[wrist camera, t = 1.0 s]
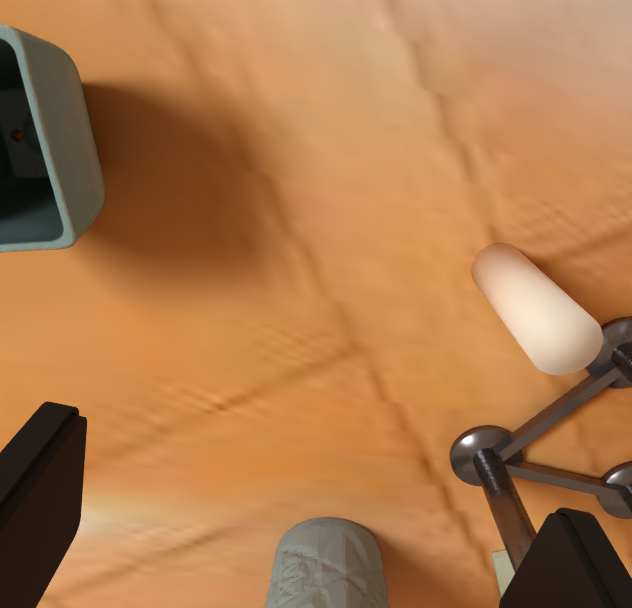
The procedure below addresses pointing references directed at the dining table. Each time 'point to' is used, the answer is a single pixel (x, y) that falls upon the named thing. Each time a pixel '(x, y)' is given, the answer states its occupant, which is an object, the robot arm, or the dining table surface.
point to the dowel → (537, 311)
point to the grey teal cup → (327, 567)
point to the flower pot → (44, 147)
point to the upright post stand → (505, 461)
